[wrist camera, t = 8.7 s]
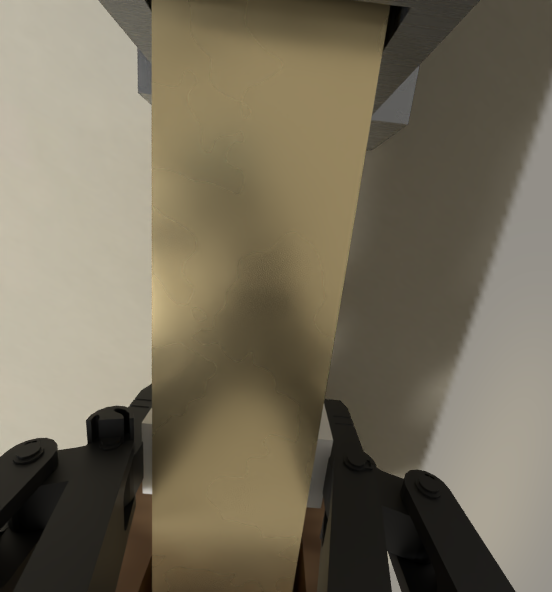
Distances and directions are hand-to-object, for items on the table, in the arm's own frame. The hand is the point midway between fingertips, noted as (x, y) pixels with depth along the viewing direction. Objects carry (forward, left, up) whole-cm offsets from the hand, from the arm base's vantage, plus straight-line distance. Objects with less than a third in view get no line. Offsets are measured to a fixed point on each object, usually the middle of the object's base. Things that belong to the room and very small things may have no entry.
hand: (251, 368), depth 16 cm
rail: (0, +4, +3) cm, 5 cm away
